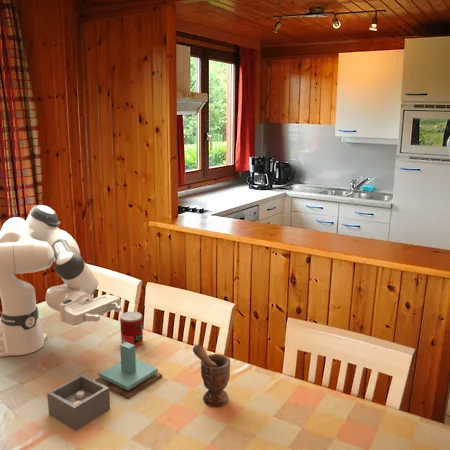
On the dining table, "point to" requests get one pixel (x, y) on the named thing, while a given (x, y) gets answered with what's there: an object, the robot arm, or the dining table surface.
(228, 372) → the mortar and pestle
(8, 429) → the dining table surface
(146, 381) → the board
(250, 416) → the dining table surface
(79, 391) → the tub
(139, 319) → the canned food
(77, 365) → the dining table surface
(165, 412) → the dining table surface
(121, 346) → the lid
